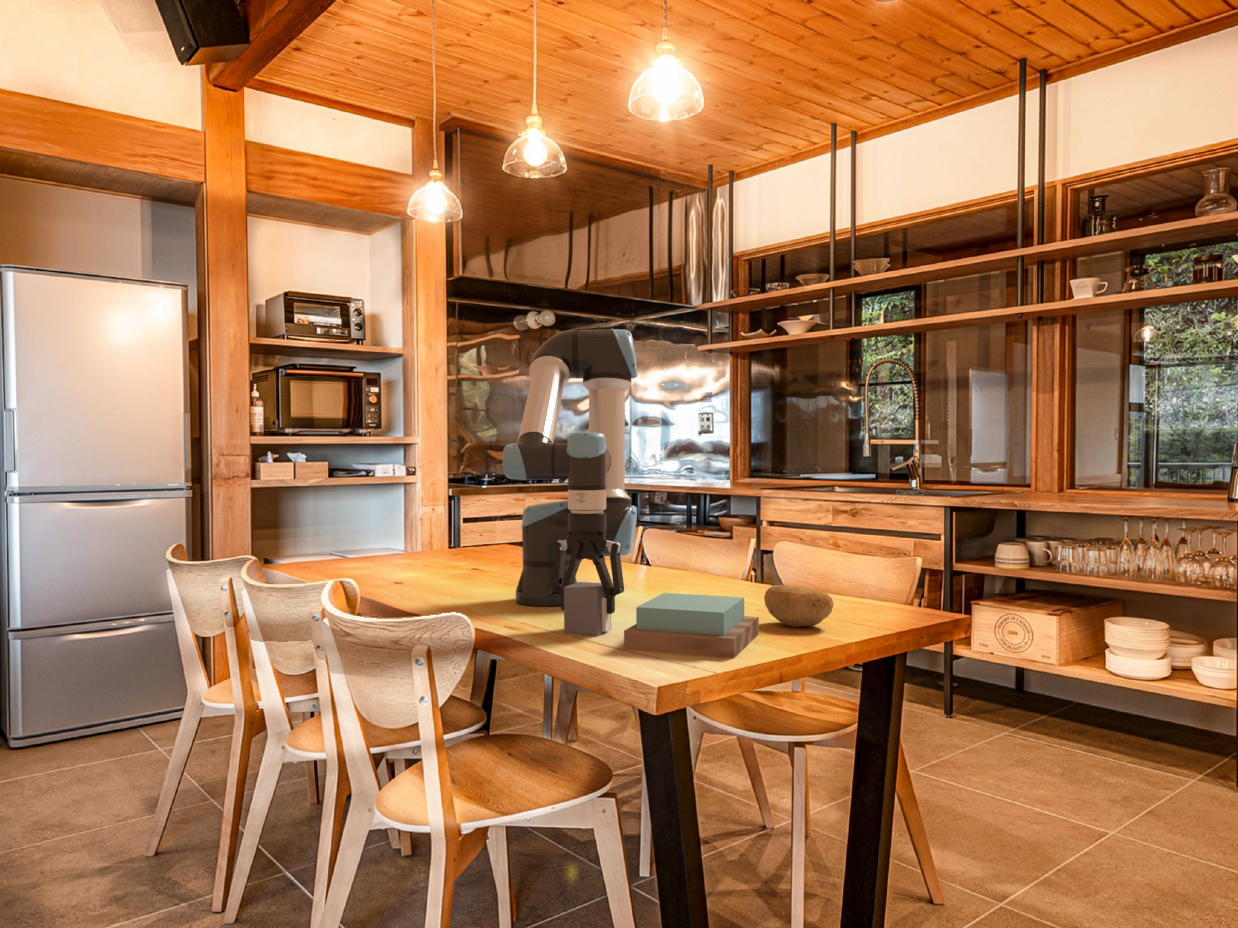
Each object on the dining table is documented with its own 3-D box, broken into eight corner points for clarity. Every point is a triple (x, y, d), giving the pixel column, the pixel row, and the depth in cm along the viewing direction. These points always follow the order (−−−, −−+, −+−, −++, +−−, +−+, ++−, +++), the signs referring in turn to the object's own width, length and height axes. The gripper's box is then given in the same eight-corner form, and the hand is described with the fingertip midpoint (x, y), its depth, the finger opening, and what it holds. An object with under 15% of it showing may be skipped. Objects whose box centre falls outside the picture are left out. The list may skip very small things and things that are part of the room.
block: (578, 626, 176) (578, 581, 175) (611, 628, 173) (610, 583, 173) (564, 633, 169) (563, 587, 169) (597, 636, 166) (597, 589, 166)
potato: (821, 634, 166) (821, 592, 166) (755, 626, 175) (755, 586, 175) (842, 626, 174) (842, 586, 174) (778, 618, 182) (778, 580, 182)
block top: (663, 613, 171) (663, 592, 171) (744, 618, 166) (744, 597, 166) (636, 629, 157) (636, 607, 156) (723, 635, 151) (723, 612, 151)
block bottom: (659, 630, 174) (659, 610, 174) (758, 637, 167) (758, 617, 167) (624, 652, 156) (624, 630, 155) (734, 662, 148) (734, 638, 148)
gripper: (532, 511, 171) (533, 629, 171) (628, 513, 164) (629, 636, 164) (549, 509, 178) (550, 621, 178) (641, 511, 171) (642, 628, 171)
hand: (588, 628), depth 171 cm, fingers closed on block, 7 cm apart
